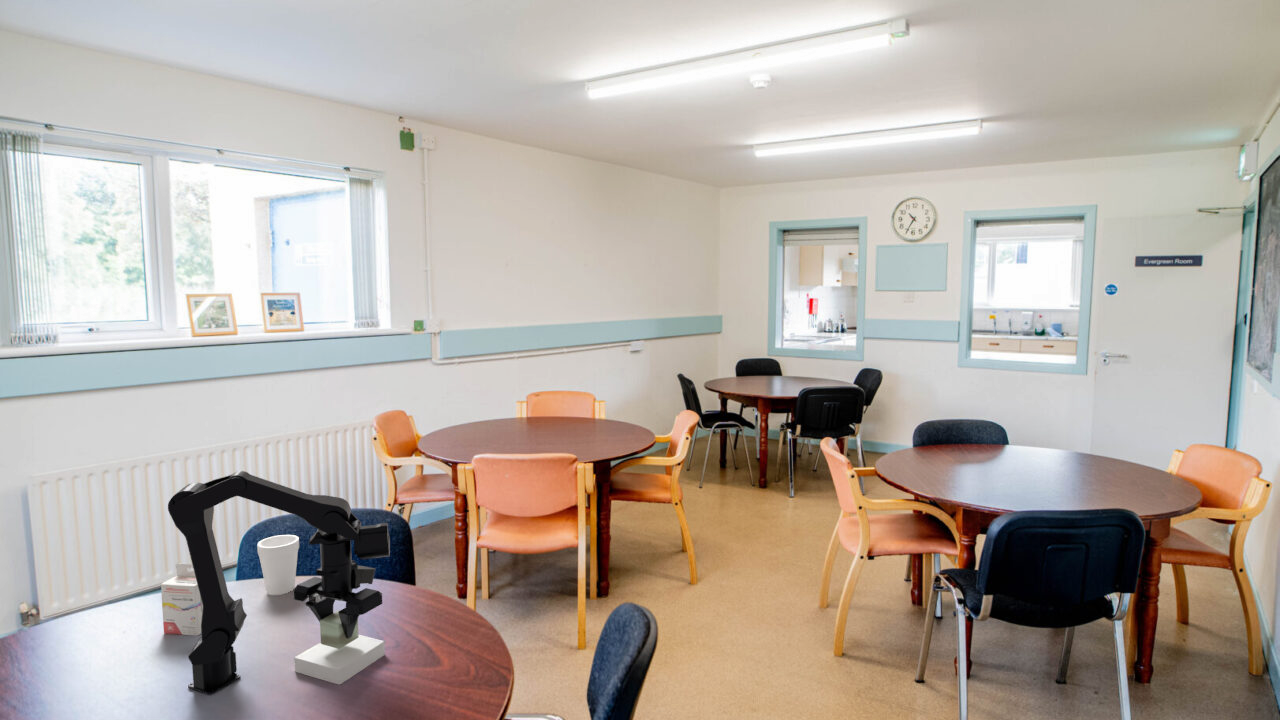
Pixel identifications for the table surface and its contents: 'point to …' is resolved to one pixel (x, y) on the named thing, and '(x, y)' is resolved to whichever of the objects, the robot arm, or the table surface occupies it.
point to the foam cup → (279, 562)
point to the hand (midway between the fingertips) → (339, 635)
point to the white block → (339, 659)
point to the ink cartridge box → (182, 603)
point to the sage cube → (335, 632)
